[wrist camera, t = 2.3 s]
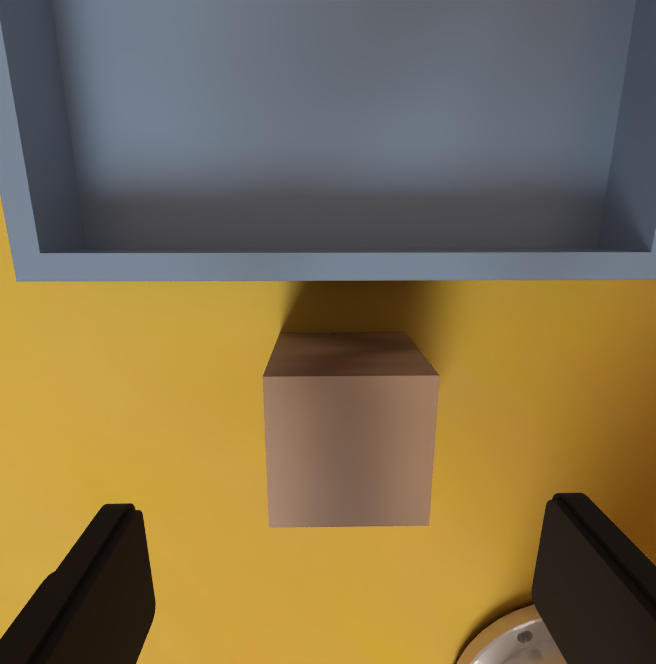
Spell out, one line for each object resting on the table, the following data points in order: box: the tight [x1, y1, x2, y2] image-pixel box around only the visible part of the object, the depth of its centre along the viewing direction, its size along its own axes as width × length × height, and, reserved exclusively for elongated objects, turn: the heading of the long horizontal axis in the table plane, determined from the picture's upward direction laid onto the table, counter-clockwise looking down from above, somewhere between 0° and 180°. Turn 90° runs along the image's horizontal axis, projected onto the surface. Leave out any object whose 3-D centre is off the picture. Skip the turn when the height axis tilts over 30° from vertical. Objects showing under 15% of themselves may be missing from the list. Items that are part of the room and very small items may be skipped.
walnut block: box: [263, 332, 439, 528], centre depth 18 cm, size 6×6×6 cm
